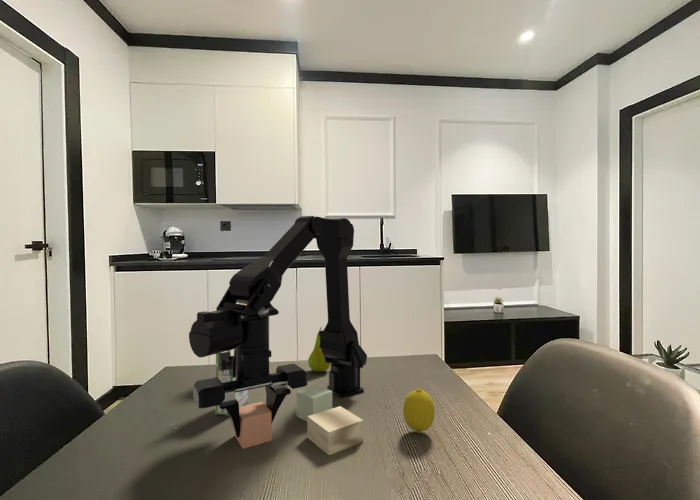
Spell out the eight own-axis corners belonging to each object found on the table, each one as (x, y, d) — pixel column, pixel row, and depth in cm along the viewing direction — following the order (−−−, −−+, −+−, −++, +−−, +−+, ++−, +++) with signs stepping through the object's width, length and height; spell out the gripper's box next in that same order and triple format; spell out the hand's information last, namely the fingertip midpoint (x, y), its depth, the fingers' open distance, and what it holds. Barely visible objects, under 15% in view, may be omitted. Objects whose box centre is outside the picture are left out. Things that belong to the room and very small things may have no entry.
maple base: (340, 427, 70) (340, 406, 70) (363, 443, 64) (363, 420, 64) (307, 438, 66) (307, 416, 66) (328, 456, 60) (328, 432, 60)
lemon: (416, 443, 64) (416, 397, 64) (397, 429, 69) (397, 386, 69) (441, 436, 66) (441, 391, 66) (421, 423, 71) (421, 381, 71)
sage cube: (315, 408, 78) (315, 384, 78) (332, 416, 74) (332, 391, 74) (296, 416, 74) (296, 391, 74) (313, 425, 71) (313, 398, 71)
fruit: (315, 366, 105) (315, 323, 105) (335, 369, 102) (335, 325, 102) (303, 373, 99) (303, 328, 99) (324, 376, 96) (324, 330, 96)
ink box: (233, 416, 74) (233, 349, 74) (214, 415, 74) (214, 348, 74) (248, 402, 81) (248, 340, 81) (230, 401, 81) (230, 339, 81)
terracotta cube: (262, 428, 69) (262, 401, 69) (271, 440, 65) (271, 411, 65) (234, 435, 66) (234, 407, 66) (242, 448, 62) (242, 418, 62)
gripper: (285, 328, 77) (285, 403, 77) (187, 340, 67) (188, 426, 68) (308, 340, 68) (308, 425, 68) (199, 356, 58) (199, 456, 58)
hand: (252, 432), depth 66 cm, fingers closed on terracotta cube, 5 cm apart
